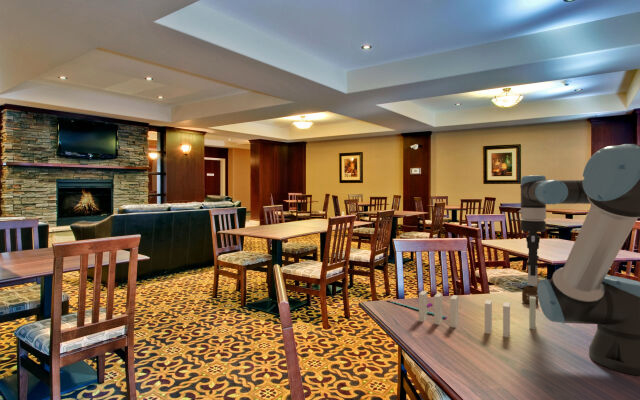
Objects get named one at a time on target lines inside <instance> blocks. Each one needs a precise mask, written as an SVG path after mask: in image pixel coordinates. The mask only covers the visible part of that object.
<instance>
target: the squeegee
mask: <svg viewBox="0 0 640 400" xmlns="http://www.w3.org/2000/svg"><path fill="white" fill-rule="evenodd" d="M391 303H393V304H395V303H396V304H395V305H399V306H402V305H403V307H405V306H407V307H406V308H408V307H409V309H412V308H413V309H412V310H415V309H416V310H415V311H418V310H419V307H414V306H411V305H408V304H404V303H401V302H396V301H393V302H391ZM430 306H431V307H434V304H433V303H427V308H431V307H430ZM431 314H432V315H431ZM427 315H431V316H434V312H431V311H429V310H427ZM447 318H448V317H447V316H446V315H443V314H442V319H444V320H447Z"/></svg>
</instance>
